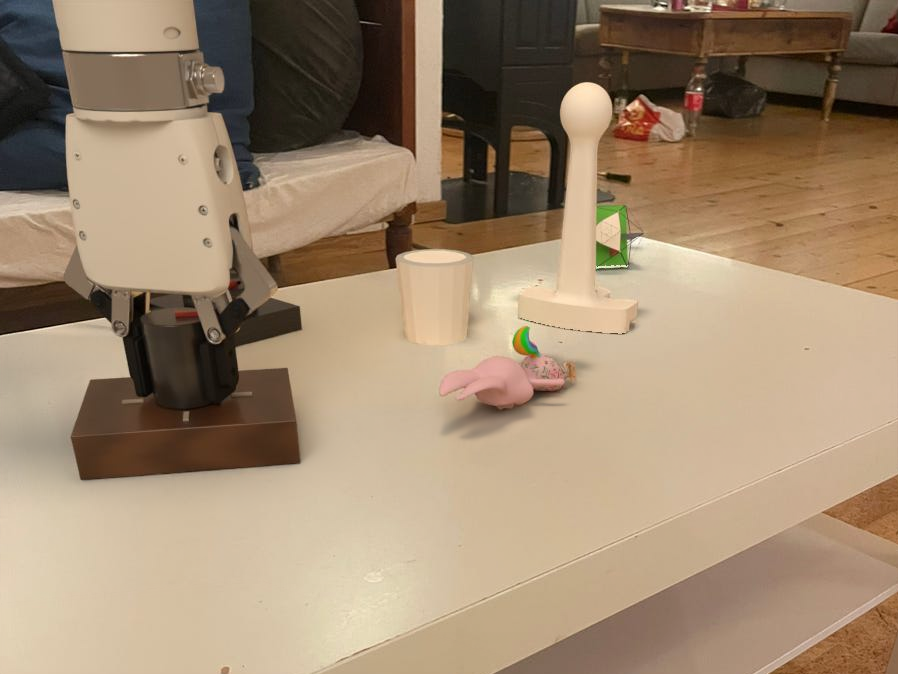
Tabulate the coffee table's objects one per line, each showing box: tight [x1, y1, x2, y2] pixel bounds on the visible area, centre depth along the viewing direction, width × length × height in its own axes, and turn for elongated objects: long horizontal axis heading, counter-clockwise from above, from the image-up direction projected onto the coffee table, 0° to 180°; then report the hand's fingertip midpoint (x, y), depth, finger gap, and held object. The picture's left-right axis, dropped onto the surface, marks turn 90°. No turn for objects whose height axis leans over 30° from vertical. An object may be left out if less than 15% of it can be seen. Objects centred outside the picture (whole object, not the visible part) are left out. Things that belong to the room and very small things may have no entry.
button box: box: [149, 280, 303, 348], centre depth 91 cm, size 12×9×4 cm
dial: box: [140, 308, 212, 409], centre depth 66 cm, size 4×4×6 cm
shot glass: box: [395, 248, 475, 346], centre depth 88 cm, size 7×7×7 cm
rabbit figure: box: [438, 325, 578, 411], centre depth 74 cm, size 6×6×15 cm
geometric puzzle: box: [596, 204, 646, 267], centre depth 111 cm, size 7×7×8 cm
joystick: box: [517, 81, 639, 335], centre depth 90 cm, size 11×8×20 cm
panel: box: [70, 367, 301, 481], centre depth 68 cm, size 14×11×3 cm
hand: (186, 390), depth 67 cm, fingers closed on dial, 4 cm apart
